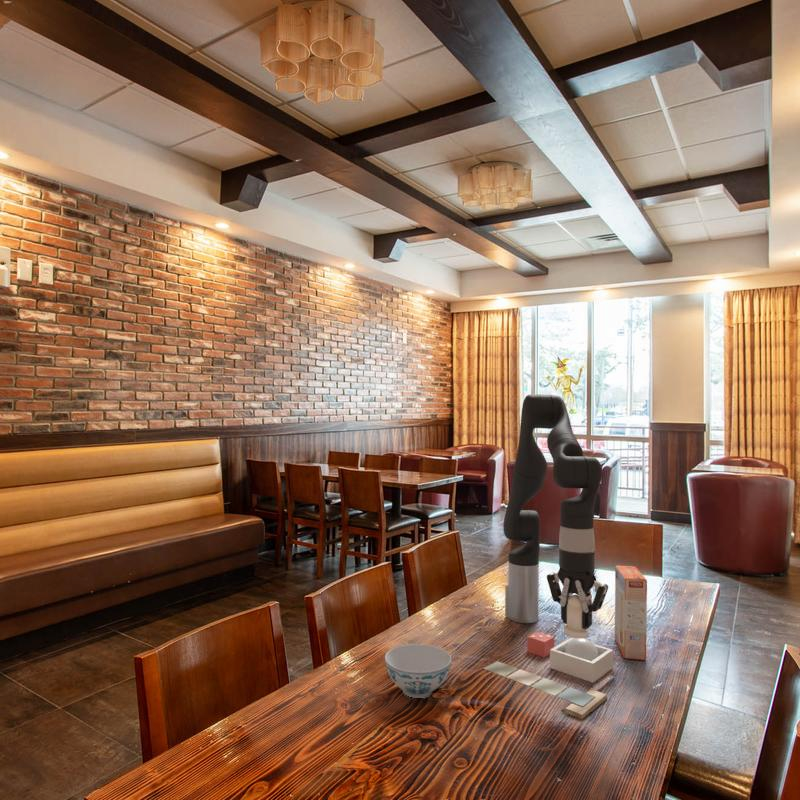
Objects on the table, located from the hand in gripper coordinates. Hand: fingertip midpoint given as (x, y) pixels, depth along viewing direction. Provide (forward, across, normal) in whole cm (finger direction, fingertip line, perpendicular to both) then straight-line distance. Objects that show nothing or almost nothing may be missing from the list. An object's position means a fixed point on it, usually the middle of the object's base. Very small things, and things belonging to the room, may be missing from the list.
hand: (576, 625), depth 126 cm
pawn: (+2, 0, 0) cm, 2 cm away
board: (+17, -10, 0) cm, 19 cm away
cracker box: (+17, -3, +37) cm, 41 cm away
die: (+17, -18, +16) cm, 29 cm away
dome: (+16, -6, +15) cm, 23 cm away
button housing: (+17, -6, +14) cm, 23 cm away
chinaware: (+17, -28, -21) cm, 39 cm away
